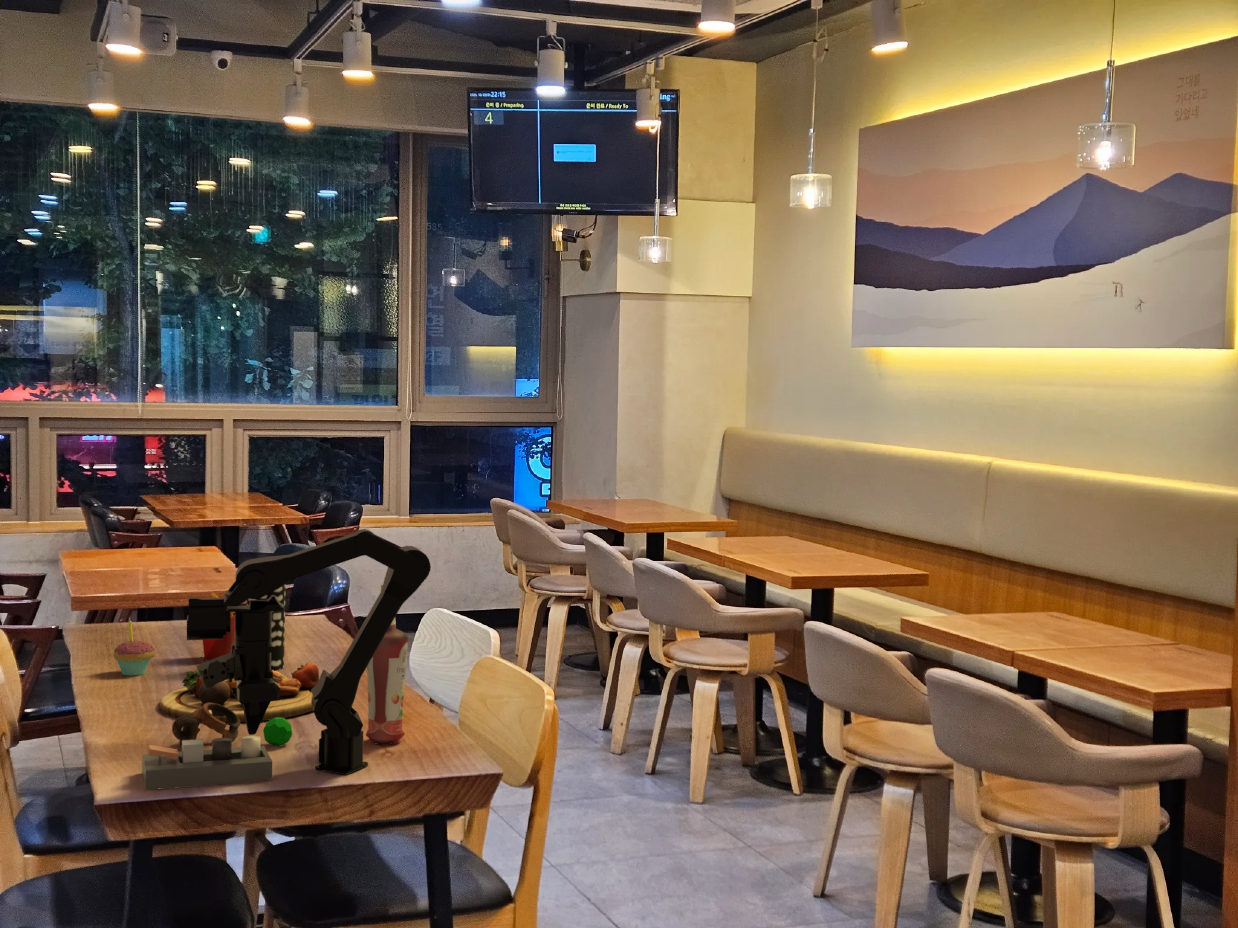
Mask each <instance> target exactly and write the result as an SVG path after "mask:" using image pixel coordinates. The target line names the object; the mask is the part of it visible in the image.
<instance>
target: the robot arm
mask: <svg viewBox="0 0 1238 928" xmlns="http://www.w3.org/2000/svg"><path fill="white" fill-rule="evenodd" d="M363 556H364V557H365V556H366V557H368V558H371V559H372V560H374V561H376V562H378V563H379V564H381V565H384V566H386V567H387V570H386V572H385V574H384V575H385V576H384V579H383V582H382V583H383V584H382V585H383V587H382V590H381V589H380V593H379V594H378V596H377V598H376V600H375V602H374V603H373V604H372V606H371V608H370V610H369V611H368V612H369V613H368V614H367V616H366V618H365V619H364V621H363V623H362V625H361V626H360V627H359V630H358V632H357V633H356V635H355V637H354V638H353V639H352V642H351V643H350V645H349V647H348V649H347V651H346V653H345V654H344V655H343V658H342V660H341V661H340V663H339V664H338V666H336V667H335V669H334V670H333V671H331V672H330V673H329V672H328V671H327V670H325V669H323V670H322V672H321V673H320V675H319V681H318V683H317V684H316V686H315V687H313V688H312V689H311V691H312V694H313V696H312V700H311V704H312V708H313V714H314V717H315V719H316V721H317V722H318V723H320V725H322V726H325V727H326V728H325V729H321V730H320V738H319V739H318V761H317V762H318V764H317V765H315V766H314V770H316V771H323V772H328V773H334V774H335V773H336V774H341V775H342V774H343V775H349V774H351V773H354V772H356V771H359V770H361V769H363V768H365V767H367V766H369V762H368V761H364V730H363V726H364V723H363V722H362V719H361V717H360V716H359V713H358V711H357V710H356V709H355V708H354V707H353V706H354V702H355V699H356V695H357V691H358V690H359V689H358V688H359V684H360V680H361V678H362V676H363V675H364V672H365V671H366V670H367V666H368V664H369V662H370V660H371V659H372V657H373V655H374V653H375V652H376V650H377V648H378V646H379V644H380V643H381V641H382V639H383V637H384V636H385V634H386V632H387V630H388V629H389V627H390V625H391V623H392V622H393V620H394V618H395V619H396V616H397V614H398V613H399V611H400V609H401V608H402V606H403V604H405V603H406V601H407V600H408V599H409V598H410V597H412V595H414V594H415V592H416V591H417V590H418V589H419V588H420V587H421V585H422V584H423V583H424V582H425V580H427V578H428V576H429V575H430V573H431V568H432V566H431V561H430V559H429V557H428V556H427V554H426V553H424V552H423V551H422V550H421V549H419V548H418V547H416V546H413V545H405V546H400V545H398V544H396V543H394V542H392V541H389V540H388V539H385V538H383V537H381V536H379V535H377V534H376V533H374V532H372V531H371V530H370V529H367V528H363V529H361V528H360V529H358V530H356V531H355V532H353V533H350V534H347V535H344V536H341V537H338V538H335V539H332V540H328V541H327V542H323V543H320V544H317V545H314V546H312V547H308V548H305V549H302V550H299V551H295V552H292V553H289V554H285V555H284V554H282V555H273V556H272V555H271V556H265V557H264V556H263V557H257V558H251V559H247V560H245V561H244V562H242V563H240V565H239V566H238V567H237V569H236V571H235V576H234V580H235V581H234V582H233V583H232V585H230V587H229V588H228V590H226V591H225V594H223V596H222V597H219V598H213V597H209V598H208V597H200V596H189V597H188V607H187V608H188V613H187V616H186V641H203V640H215V639H223V635H227V633H230V627H231V612H234V615H235V643H233V645H231V653H229V654H226V655H223V656H219V657H217V658H214V659H212V660H206V661H204V662H202V663H200V664H198V665H196V669H198V672H199V674H200V677H201V679H202V682H203V685H204V687H205V688H210V687H213V686H215V684H217V683H220V682H222V681H225V680H227V681H228V682H232V679H234V681H237V688H232V689H231V690H232V692H233V693H234V695H235V697H236V699H237V700H238V701H239V702H241V703H242V706H243V711H244V716H245V720H246V722H245V725H246V729H247V733H248V736H255V735H256V734H257V732H258V730H259V727H260V725H261V723H262V719H263V717H264V715H265V712H266V710H267V708H268V706H269V704H270V702H271V701H278V700H280V687H279V686H278V684H277V683H276V682H275V681H273V680H272V679H267V678H273V671H272V670H271V653H273V646H272V644H271V629H272V611H283V610H284V607H283V604H282V603H280V602H279V601H278V600H277V599H276V597H275V595H271V597H270V598H269V599H268V600H250V605H247V604H246V605H242V604H244V603H245V602H247V600H248V599H258V598H262V597H264V596H266V595H267V594H269V593H271V592H273V591H275V590H277V589H279V588H280V587H282V586H284V585H285V584H288V583H289V582H291V581H293V580H295V579H297V578H300V577H303V576H306V575H309V574H311V573H315V572H318V571H320V570H324V569H326V568H330V567H332V566H336V565H339V564H341V563H345V562H347V561H350V560H354V559H356V558H361V557H363Z"/></svg>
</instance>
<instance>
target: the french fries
mask: <svg viewBox="0 0 1238 928" xmlns="http://www.w3.org/2000/svg"><path fill="white" fill-rule="evenodd" d="M210 596H211V598H220V597H219V596H218V594H216V593H215V592H212V593H210ZM207 598H210V597H209V596H208V597H207ZM233 643H235V612H231V627H230V633H227V635H223V639H215V640H202V646H203V647H202V648H203V658H204V661H209V660H212V659H214V658H217V657H219V656H223V655H226V654H229V653H231V645H233Z"/></svg>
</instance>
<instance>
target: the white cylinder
mask: <svg viewBox="0 0 1238 928" xmlns="http://www.w3.org/2000/svg"><path fill="white" fill-rule="evenodd" d="M240 740H241V741H240V747H241V758H257V757H260V746H261V737H260V736H259V735H247V736H243V737H241V738H240Z"/></svg>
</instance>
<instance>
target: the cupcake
mask: <svg viewBox="0 0 1238 928" xmlns="http://www.w3.org/2000/svg"><path fill="white" fill-rule="evenodd" d="M132 623H133V622H132V620H131V618H130V617H128V633H129V634H128V635H129V641H125V642H123V643H120V644H119V645H117V647H115V648H114V652H113V658H114V659H115V660H116V662H117V664H118V666H119V669H120V671H121V675H123V676H135V677H136V676H141V675H144V674H146V672H147V669H148V666H149V663H150V660H151V659H152V658H154V657H155V656H156V653H157V652H156V648H155V647H154V646H153V645H152V644H149V643H148V642H147V641H144V640H143V641H141V640H134V636H133V635H134V633H133V626H132V625H133V624H132Z"/></svg>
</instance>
